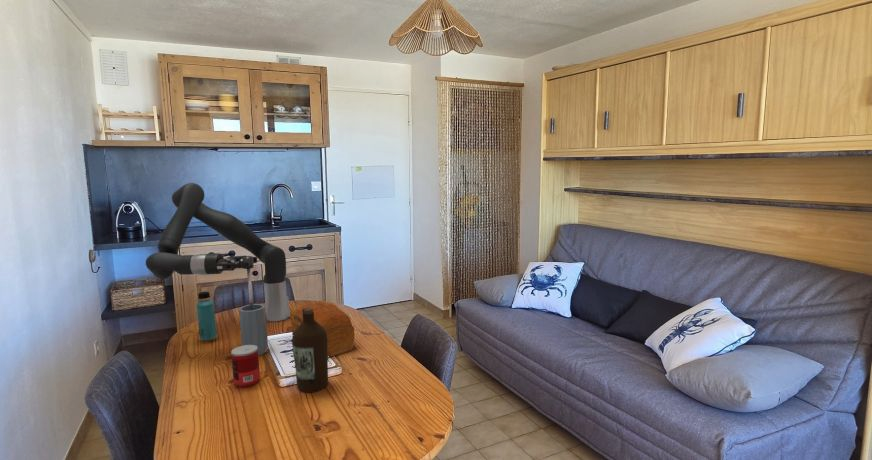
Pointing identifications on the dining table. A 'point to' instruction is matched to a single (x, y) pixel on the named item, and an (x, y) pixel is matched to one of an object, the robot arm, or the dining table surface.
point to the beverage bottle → (206, 317)
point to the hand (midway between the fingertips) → (253, 262)
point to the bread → (330, 326)
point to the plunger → (249, 278)
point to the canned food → (245, 365)
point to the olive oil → (310, 354)
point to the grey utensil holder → (254, 327)
